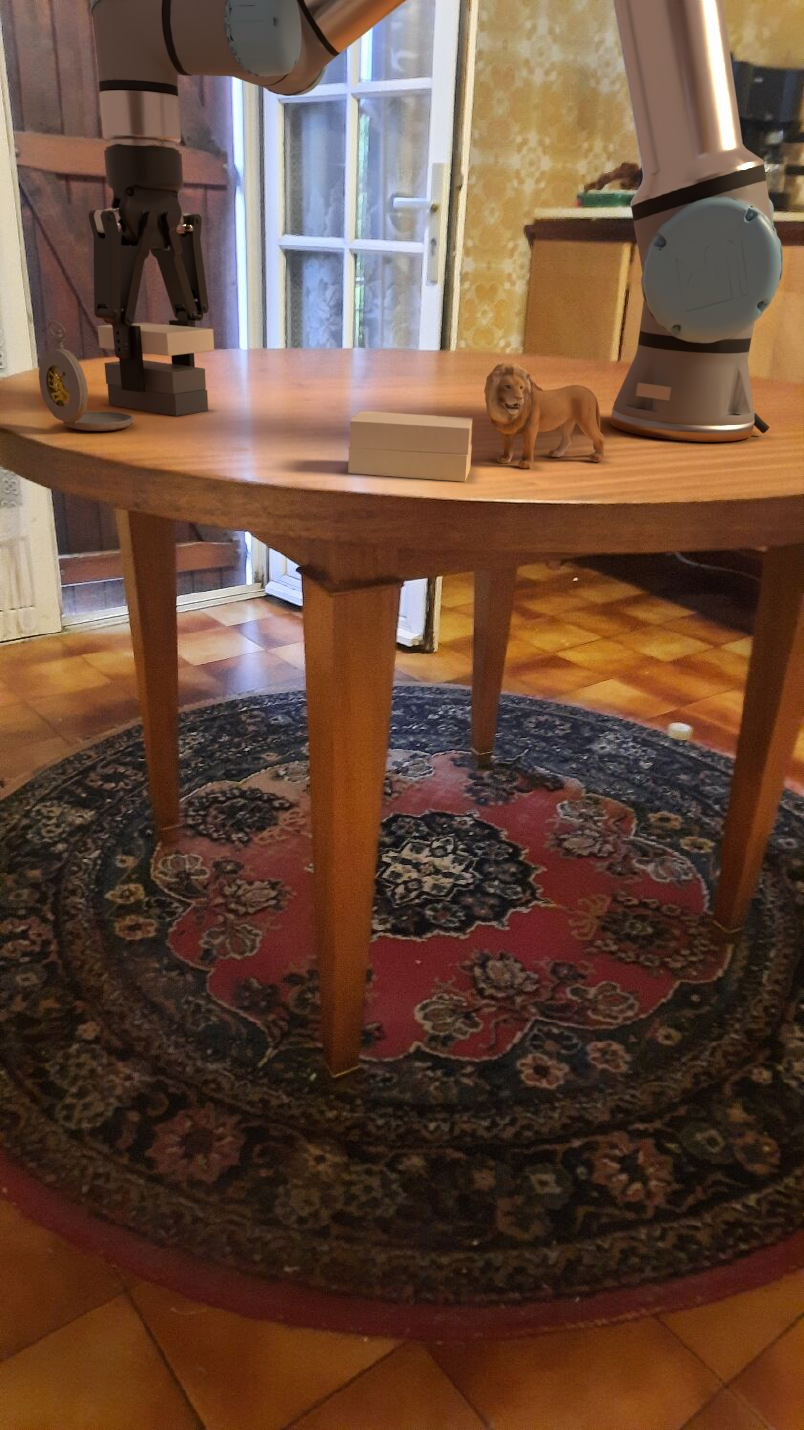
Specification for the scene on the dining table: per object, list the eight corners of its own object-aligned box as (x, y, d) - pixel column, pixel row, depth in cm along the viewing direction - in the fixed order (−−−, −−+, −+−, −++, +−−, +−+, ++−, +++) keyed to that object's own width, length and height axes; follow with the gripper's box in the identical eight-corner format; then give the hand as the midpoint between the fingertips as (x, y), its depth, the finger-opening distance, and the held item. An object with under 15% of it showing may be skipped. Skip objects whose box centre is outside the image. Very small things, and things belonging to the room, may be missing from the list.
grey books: (208, 410, 111) (206, 368, 109) (176, 416, 107) (173, 372, 106) (140, 399, 116) (137, 359, 114) (107, 404, 112) (104, 362, 110)
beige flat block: (214, 351, 109) (213, 329, 108) (168, 356, 104) (166, 333, 103) (146, 343, 114) (145, 322, 113) (99, 348, 109) (97, 326, 108)
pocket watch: (142, 423, 103) (135, 317, 99) (113, 439, 95) (104, 325, 91) (63, 419, 103) (53, 313, 99) (28, 434, 96) (15, 320, 92)
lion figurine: (504, 476, 88) (513, 367, 84) (464, 464, 92) (471, 359, 88) (619, 460, 96) (632, 360, 92) (578, 450, 100) (589, 353, 96)
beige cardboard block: (471, 469, 90) (474, 418, 88) (466, 482, 85) (469, 428, 83) (358, 460, 91) (359, 410, 89) (346, 473, 86) (347, 420, 84)
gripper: (184, 153, 110) (196, 375, 120) (35, 137, 95) (63, 393, 105) (237, 153, 107) (245, 381, 117) (92, 136, 91) (115, 401, 101)
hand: (159, 386), depth 111 cm, fingers closed on beige flat block, 7 cm apart
